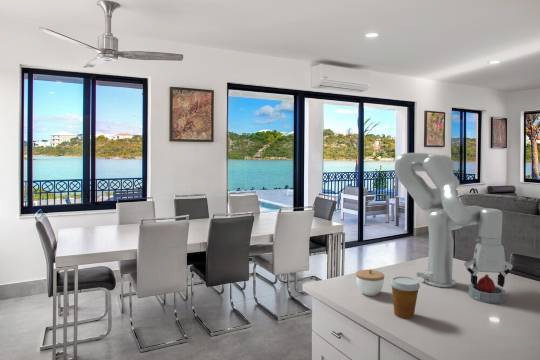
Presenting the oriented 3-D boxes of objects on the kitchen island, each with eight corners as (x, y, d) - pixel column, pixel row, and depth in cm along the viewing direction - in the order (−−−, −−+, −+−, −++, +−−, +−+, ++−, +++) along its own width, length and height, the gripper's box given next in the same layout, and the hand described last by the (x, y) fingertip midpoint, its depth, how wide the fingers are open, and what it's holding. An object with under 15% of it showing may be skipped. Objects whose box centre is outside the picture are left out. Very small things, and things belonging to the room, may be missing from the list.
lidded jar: (388, 292, 155) (389, 269, 155) (375, 300, 147) (376, 275, 147) (364, 286, 163) (364, 264, 162) (350, 293, 155) (350, 269, 154)
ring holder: (477, 303, 145) (478, 293, 145) (463, 291, 157) (464, 283, 157) (511, 304, 145) (511, 295, 144) (495, 292, 157) (495, 284, 156)
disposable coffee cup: (406, 323, 128) (407, 287, 127) (383, 312, 136) (384, 278, 135) (424, 316, 133) (426, 282, 132) (401, 307, 141) (403, 274, 140)
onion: (493, 299, 147) (495, 278, 146) (476, 295, 150) (477, 275, 149) (494, 294, 152) (495, 273, 151) (477, 291, 155) (478, 271, 154)
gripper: (470, 243, 146) (468, 288, 148) (518, 244, 145) (516, 289, 146) (461, 238, 154) (459, 281, 155) (508, 239, 153) (505, 282, 154)
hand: (487, 285), depth 151 cm, fingers open, 9 cm apart
